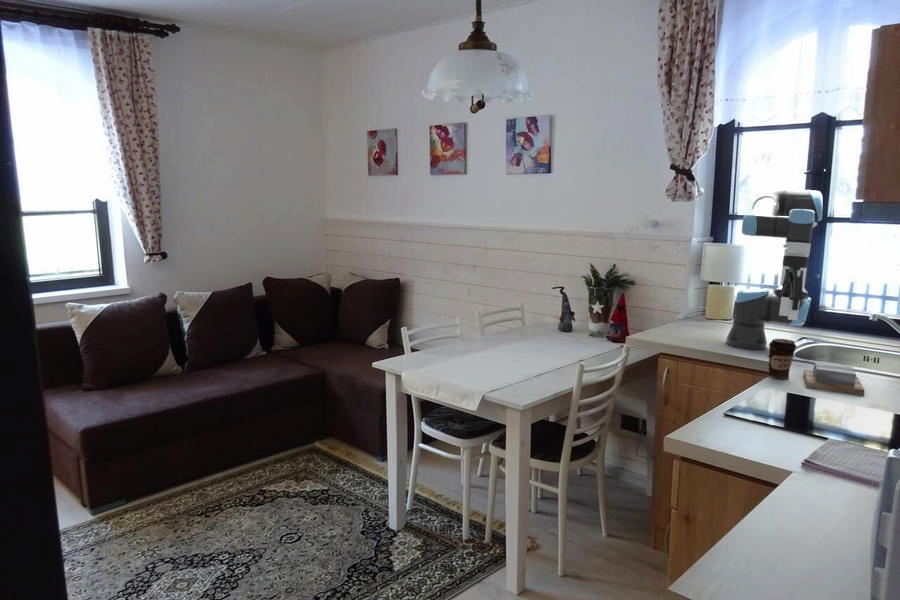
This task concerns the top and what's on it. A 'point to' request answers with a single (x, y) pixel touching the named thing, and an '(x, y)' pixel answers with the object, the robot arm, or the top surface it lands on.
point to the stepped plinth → (833, 386)
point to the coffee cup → (780, 358)
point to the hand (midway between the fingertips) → (787, 317)
